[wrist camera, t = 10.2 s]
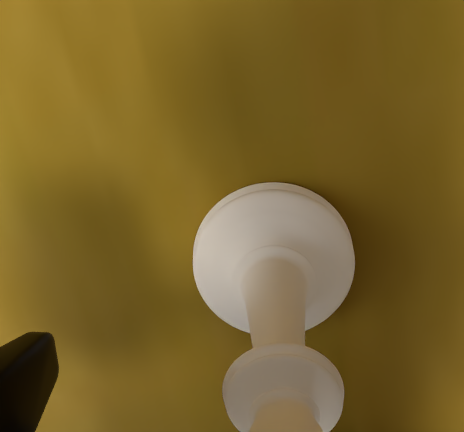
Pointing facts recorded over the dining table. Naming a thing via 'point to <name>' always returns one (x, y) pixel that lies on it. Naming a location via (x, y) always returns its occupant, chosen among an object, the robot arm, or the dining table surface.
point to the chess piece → (276, 301)
